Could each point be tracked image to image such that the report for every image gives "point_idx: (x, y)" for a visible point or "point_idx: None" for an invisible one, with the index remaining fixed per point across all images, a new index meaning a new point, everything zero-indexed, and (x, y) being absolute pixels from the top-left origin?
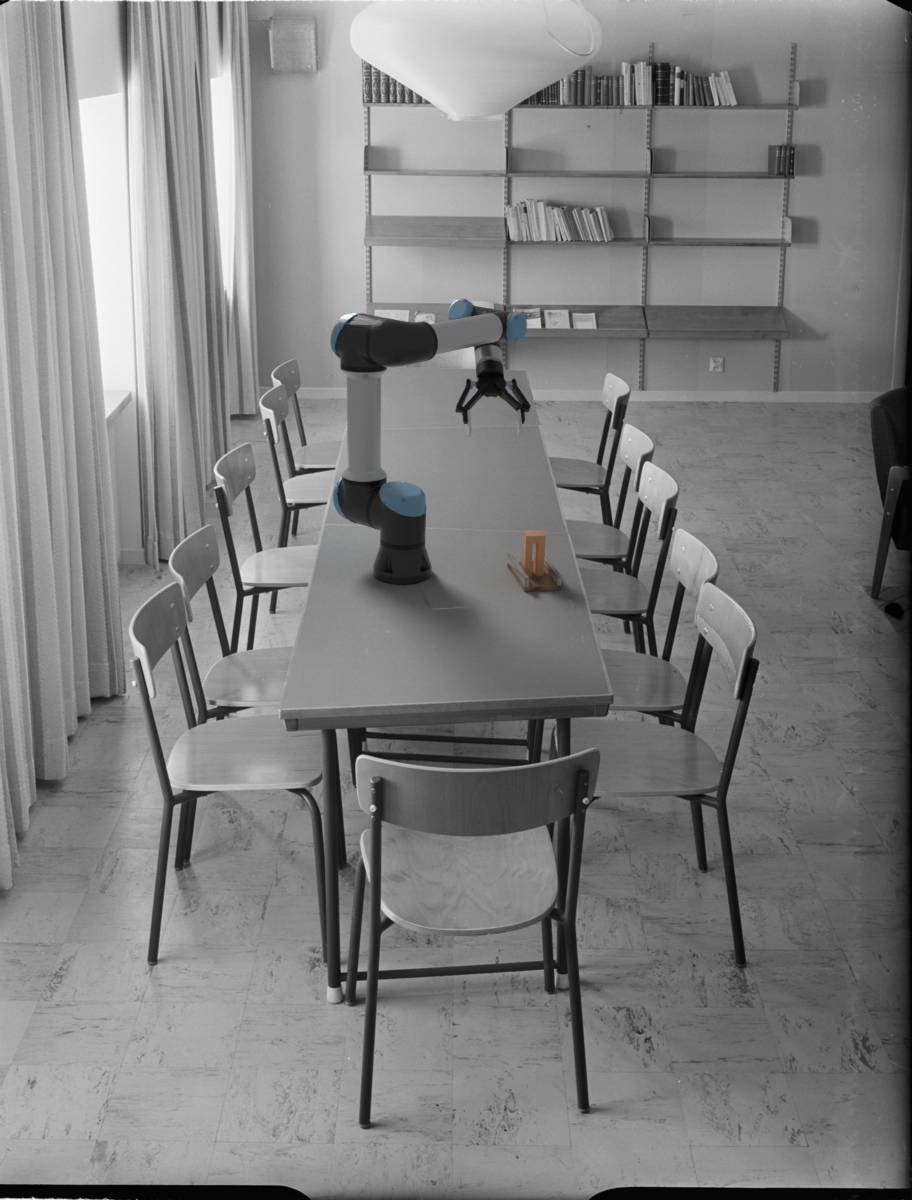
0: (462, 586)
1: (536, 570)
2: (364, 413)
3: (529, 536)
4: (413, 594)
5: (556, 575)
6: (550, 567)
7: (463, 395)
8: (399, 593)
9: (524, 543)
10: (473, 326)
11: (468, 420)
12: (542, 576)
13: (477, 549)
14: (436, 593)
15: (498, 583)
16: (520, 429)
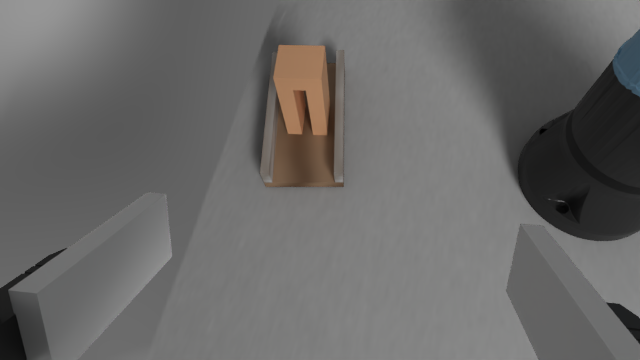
0: (456, 106)
1: (304, 101)
2: None
3: (317, 46)
4: (556, 82)
5: None
6: (276, 93)
7: None
8: (584, 89)
9: (325, 74)
10: None
11: (584, 278)
12: None
13: (388, 311)
14: (510, 82)
15: (382, 111)
16: (154, 197)
